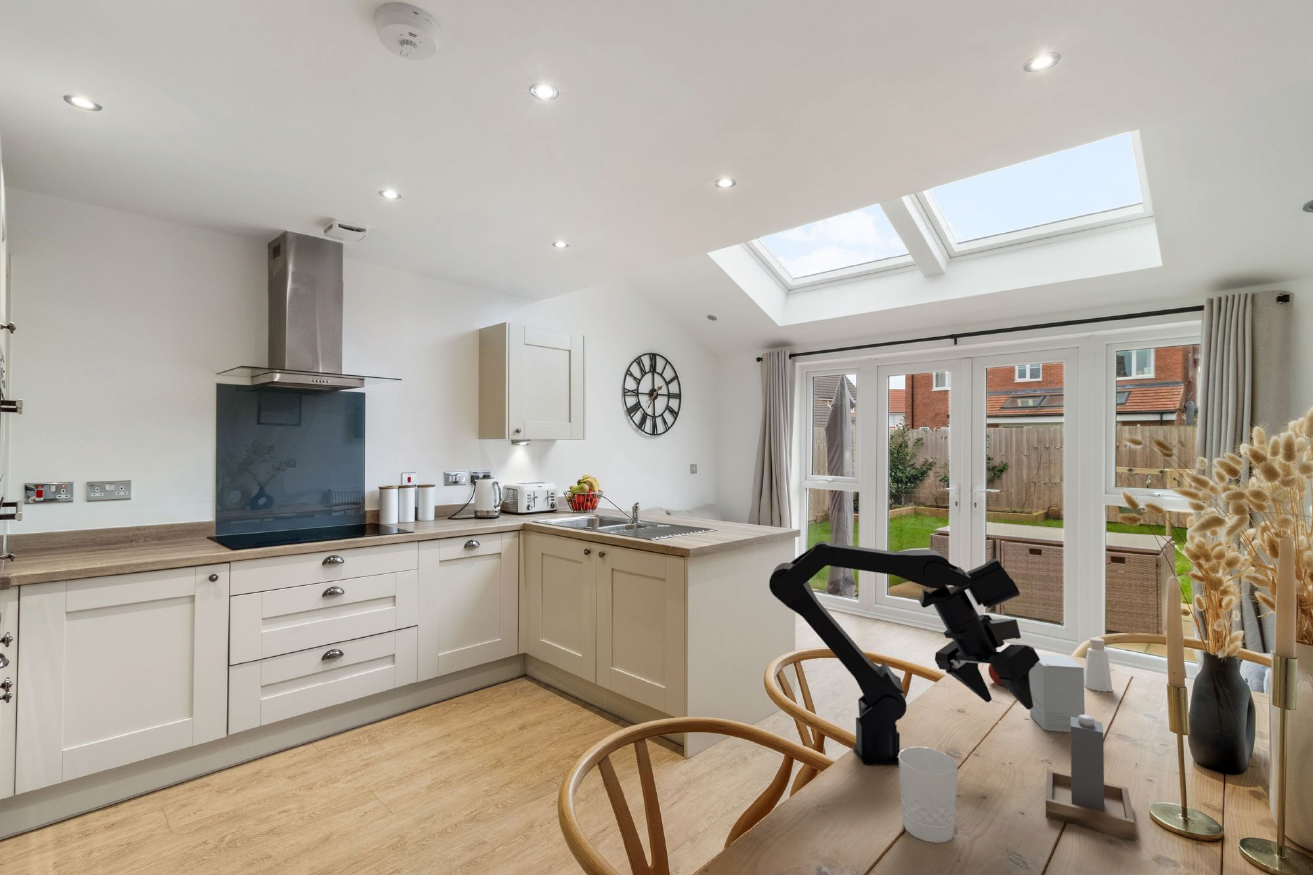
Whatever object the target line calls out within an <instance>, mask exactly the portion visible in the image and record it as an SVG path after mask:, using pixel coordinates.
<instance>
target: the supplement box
mask: <svg viewBox="0 0 1313 875" xmlns="http://www.w3.org/2000/svg"><path fill="white" fill-rule="evenodd" d="M1037 655H1038V656H1039V658H1040V661H1038V662H1037V663H1036V664H1035V666H1034V667H1033V668H1032V669H1030V690H1031V696H1032V701H1033V708H1031V709H1030V710H1029V715H1030V716H1031V718H1032V719H1033V720H1034V721H1036V723H1037V724H1038V725H1039V726H1040V727H1041V729H1042V730H1044V731H1049V732H1050V731H1051V732H1059V733H1061V732H1063V733H1071V717H1077V718H1079V717H1078V716H1079V715H1086V713H1085V711H1086V709H1085V685H1084V676H1085V667H1083V666H1082V665H1081V664H1079V663H1078V662H1077V661H1075V660H1073V658H1071V657H1070V656H1068V655H1059V654H1038V653H1037Z"/></svg>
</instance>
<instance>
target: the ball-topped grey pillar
mask: <svg viewBox="0 0 1313 875" xmlns="http://www.w3.org/2000/svg"><path fill="white" fill-rule="evenodd" d="M1078 717H1079V718H1077V717H1071V732H1070V772H1071V773H1070V774H1071V795H1072V804H1073V805H1077V806H1081V807H1085V808H1089V809H1093V810H1097V811H1101V812H1104V782H1105V773H1104V772H1105V769H1104V768H1105V764H1104V763H1105V762H1104V760H1105V759H1104V758H1105V756H1104V751H1105V750H1104V748H1105V746H1104V729H1103V728H1104V726H1103V722H1102V721H1098V720H1097V721H1096V720H1095V718H1094V717H1093V716H1091V715H1087V714H1085V715H1079V716H1078Z"/></svg>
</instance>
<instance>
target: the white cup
mask: <svg viewBox="0 0 1313 875" xmlns="http://www.w3.org/2000/svg"><path fill="white" fill-rule="evenodd" d="M897 757H898V760H899V765H898V772H899V775H898V776H899V790H900V801H901V802H900V803H901V809H902V824H903V827H904V828H905V830H906V831H907V833H909V834H910V835H911V836H913V837H914V838H917V839H920V840H921V841H924V842H928V841H929V843H933V842H934V843H935V844H939V843H940V844H941V843H946V842H948V841H950V840H952V839H953V837H954V834H955V818H956V810H957V809H956V807H957V797H958V796H957V795H958V794H957V793H958V792H957V791H958V788H957V787H958V767H959V766H958V763H957V761H956V760H955V759H954V758H953V757H952V756H950V755H949V754H948V753H946V752H944V751H941V750H938V749H935V748H932V747H925V746H910V747H909V746H908V747H905V748H903V749H901V750H900V752H899V754H898V756H897ZM934 843H933V844H934Z"/></svg>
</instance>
